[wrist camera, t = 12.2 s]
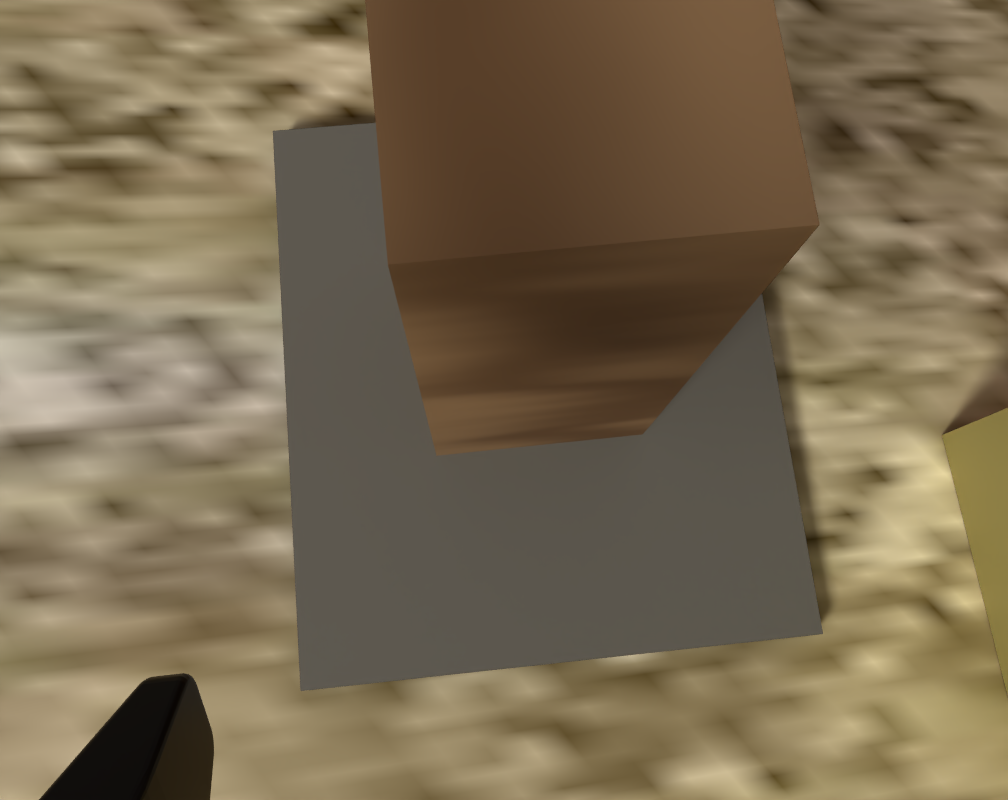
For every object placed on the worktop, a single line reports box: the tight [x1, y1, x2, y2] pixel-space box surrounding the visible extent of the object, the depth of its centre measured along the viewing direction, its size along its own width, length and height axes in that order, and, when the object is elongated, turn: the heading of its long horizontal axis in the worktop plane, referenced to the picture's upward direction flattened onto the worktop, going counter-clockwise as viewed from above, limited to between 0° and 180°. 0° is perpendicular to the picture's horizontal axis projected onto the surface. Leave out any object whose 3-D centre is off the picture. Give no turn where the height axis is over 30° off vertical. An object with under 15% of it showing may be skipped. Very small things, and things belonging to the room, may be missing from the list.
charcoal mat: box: [273, 123, 823, 691], centre depth 23 cm, size 12×14×1 cm
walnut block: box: [365, 0, 819, 456], centre depth 17 cm, size 5×5×12 cm
